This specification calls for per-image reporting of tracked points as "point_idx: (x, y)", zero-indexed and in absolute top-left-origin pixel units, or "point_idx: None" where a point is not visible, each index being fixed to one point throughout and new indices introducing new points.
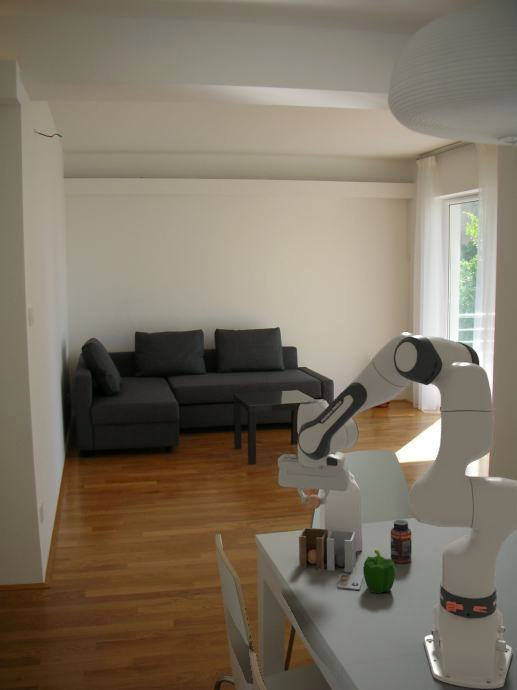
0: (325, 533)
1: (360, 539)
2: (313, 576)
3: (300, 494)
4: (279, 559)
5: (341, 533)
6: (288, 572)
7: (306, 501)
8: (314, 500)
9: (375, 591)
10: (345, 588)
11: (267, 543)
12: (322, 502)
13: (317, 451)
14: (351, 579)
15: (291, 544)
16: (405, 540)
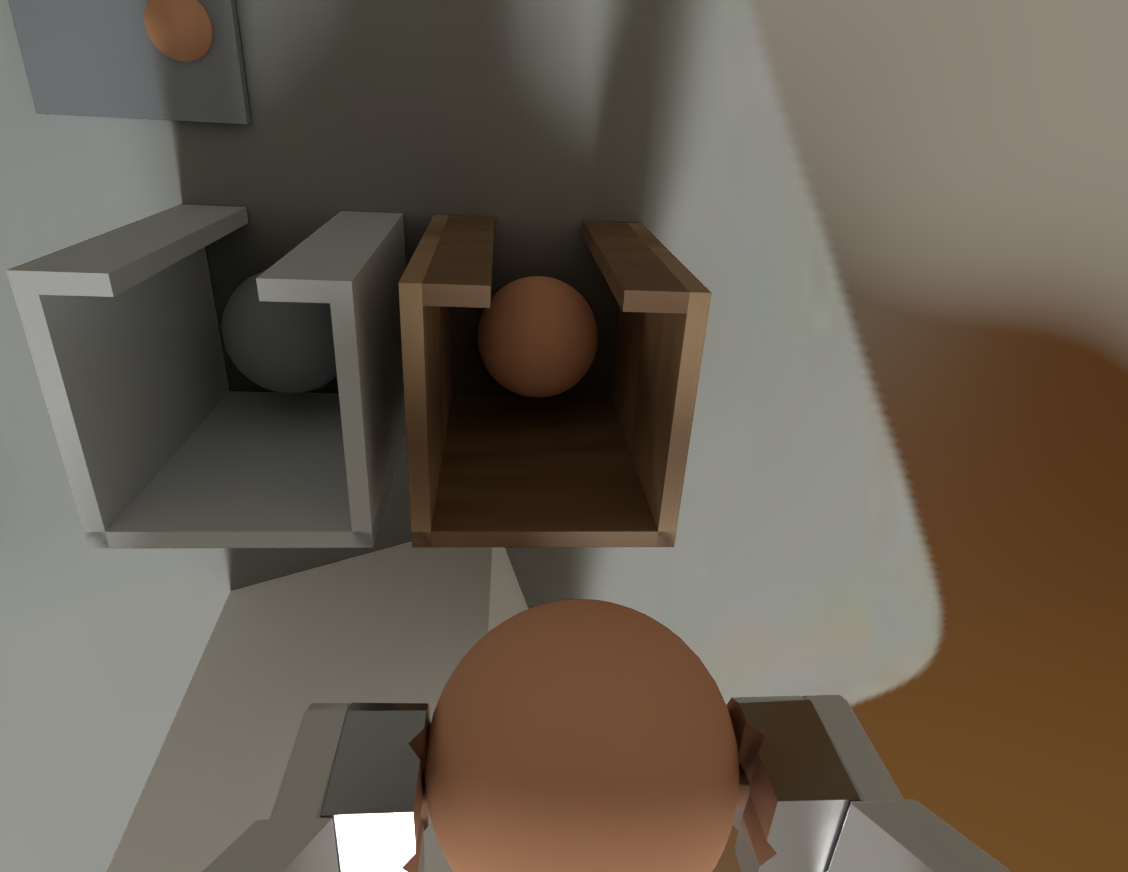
0: (411, 441)
1: (215, 648)
2: (492, 49)
3: (969, 857)
4: (809, 335)
5: (256, 517)
6: (721, 95)
7: (744, 715)
8: (552, 724)
9: None
10: None
11: (900, 565)
12: (364, 728)
13: None
14: (117, 9)
15: (737, 582)
16: None
